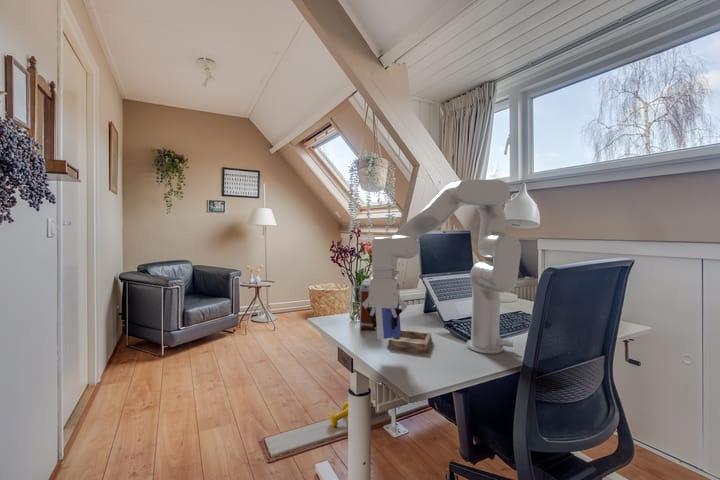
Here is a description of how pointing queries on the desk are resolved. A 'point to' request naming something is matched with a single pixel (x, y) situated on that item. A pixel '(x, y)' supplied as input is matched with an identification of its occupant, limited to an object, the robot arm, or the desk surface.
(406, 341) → the wooden tray
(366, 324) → the cine camera
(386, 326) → the walkman
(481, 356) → the desk surface
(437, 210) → the robot arm
